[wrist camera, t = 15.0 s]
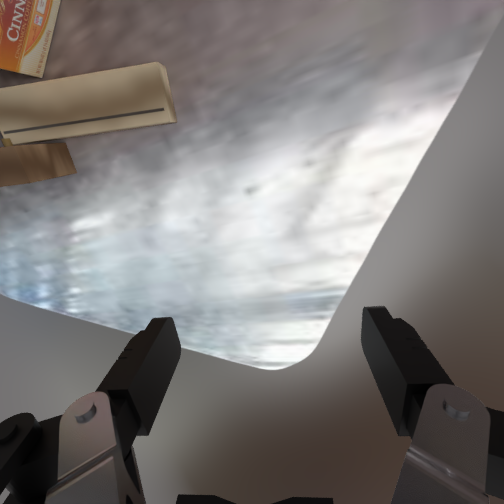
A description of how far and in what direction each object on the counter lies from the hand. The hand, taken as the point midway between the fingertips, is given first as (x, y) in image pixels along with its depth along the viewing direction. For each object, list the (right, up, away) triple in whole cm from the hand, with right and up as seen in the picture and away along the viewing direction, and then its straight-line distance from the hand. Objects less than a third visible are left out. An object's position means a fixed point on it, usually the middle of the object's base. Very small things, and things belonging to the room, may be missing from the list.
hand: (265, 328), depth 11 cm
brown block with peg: (-28, +16, +26) cm, 41 cm away
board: (-21, +22, +23) cm, 38 cm away
